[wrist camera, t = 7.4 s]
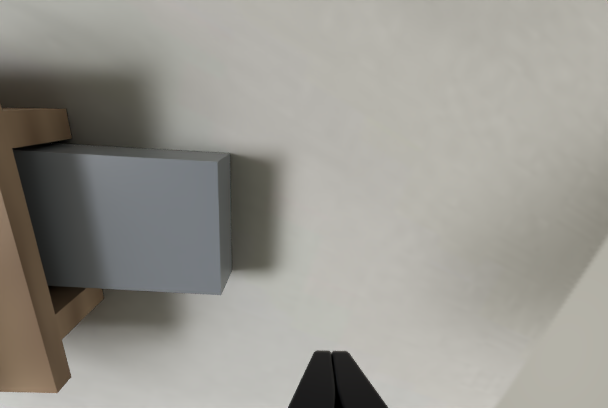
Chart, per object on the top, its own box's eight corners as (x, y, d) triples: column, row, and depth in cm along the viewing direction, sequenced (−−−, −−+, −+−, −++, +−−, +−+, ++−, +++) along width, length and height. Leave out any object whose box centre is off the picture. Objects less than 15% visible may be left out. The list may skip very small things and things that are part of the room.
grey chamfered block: (230, 153, 17) (217, 161, 15) (231, 270, 19) (221, 295, 17) (-75, 136, 17) (-137, 142, 15) (-39, 256, 19) (-88, 278, 17)
